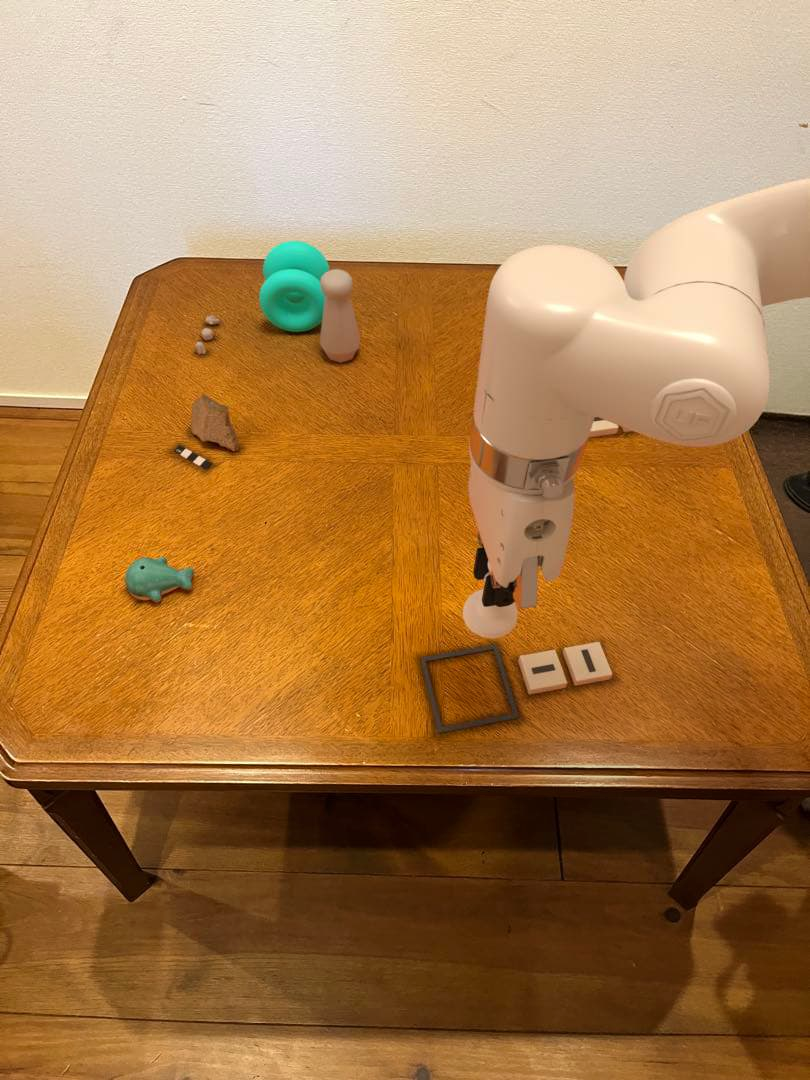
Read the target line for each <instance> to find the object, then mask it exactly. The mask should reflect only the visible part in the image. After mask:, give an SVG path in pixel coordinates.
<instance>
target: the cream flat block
mask: <svg viewBox="0 0 810 1080" xmlns="http://www.w3.org/2000/svg"><path fill="white" fill-rule="evenodd" d="M619 427H620V428H621V430H622V432H623V433H630V432H633V431H632V430H629V429H627V428H624V427H622V426H619V425H617V424H614V423H612V422H609V421H607V420H604V419H601V418H599V417H596V416H595V418H594V421H593V425H592V428H591V431H590V434H589V437H588V438H594V437H595V438H596V437H602V436H608V435H616V434H617V433H618V430H619Z"/></svg>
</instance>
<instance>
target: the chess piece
mask: <svg viewBox="0 0 810 1080" xmlns="http://www.w3.org/2000/svg"><path fill="white" fill-rule="evenodd" d="M488 569H489V572H488V573H487V574H486V575H485V577H484V579H483V582H484V584H485V580H486V576H488V575H491V572H492V569H491V566H490V563H489V560H488ZM483 590H484V588H482V589H479V590H476V591H474V592H473V593H472V594H470V595H469V596H468V597H467V599H466V601H465V603H464V605H463V608H462V617H463V621H464V623H465V625H466V627H467V628H468V629H469V630H470V631H471V632H472V633H474V634H475V635H477V636H479V637H481V638H486V639H498V638H502V637H505V636H506V635H508V634H509V633H510V632H512V630H513V629H514V628H515V627H516V624H517V621H518V608H517V604H516V602H514V603H513V604H511V605H509V606H504V607H497V606H496V605H495V606H489V607H484V606H483V603H482V596H483Z"/></svg>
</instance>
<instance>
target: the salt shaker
mask: <svg viewBox="0 0 810 1080" xmlns="http://www.w3.org/2000/svg"><path fill="white" fill-rule="evenodd" d="M321 290H322V292H323V294H324V295H325V302H324V310H323V318H322V322H321V326H320V327H321V328H320V335H319V344H320V347H321V349H322V350H323V351H324V353H325V354H326V356H327V358H328V359H329V360H330V361H333V362H337V363H341V364H342V363H345V362H348V361H351V360H353V359H354V357H355V354H356V352H357V351H358V349H359V348H360V345H361V336H360V331H359V328H358V323H357V320H356V315H355V310H354V306H353V302H352V299H351V293H353V277H352V275H350V274H349V272H348V271H346V270H343V269H337V268H335V269H330V271H327V272H326V273H324V275H323V276H322V277H321Z"/></svg>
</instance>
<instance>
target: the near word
mask: <svg viewBox="0 0 810 1080" xmlns="http://www.w3.org/2000/svg"><path fill="white" fill-rule="evenodd" d="M490 651H493V654H494V657H495V660H496V663H497V667H498V670H499V674H500V676H501V680H502V683H503V686H504V689H505V690H504V691H505V693H506V696H507V700H508V702H509V705H510V709H511V712H512V713H508V714H503V715H498V716H494V717H488V718H483V719H477V720H472V721H467V722H463V723H462V722H461V723H458V724H451V725H447V726H443V725H442V720H441V718H440V717H441V716H440V714H439V710H438V705H437V701H436V697H435V694H434V690H433V685H432V680H431V677H430V672H429V669H428V665H427V663H428V662H429V663H430V662H434V661H439V660H441V661H442V660H445V659H452V658H457V657H462V656H463V657H464V656H469V655H473V654H479V653H485V652H490ZM562 655H563V659H564V661H565V664H566V667H567V669H568V672H569V675H570V677H571V680H572V683H573V686H575V687H577V686H582V685H588V684H592V683H597V682H603V681H608V680H611V679H612V676H613V672H612V669H611V667H610V664H609V662H608V659H607V656H606V655H605V652H604V650H603V647H602V645H601V642H600V641H595V642H589V643H584V644H577V645H573V646H568V647H564V648H563V650H562ZM419 659H420V661H419V662H420V665H421V669H422V672H423V677H424V681H425V685H426V689H427V693H428V698H429V702H430V705H431V710H432V714H433V718H434V723H435V727H436V730H437V734H438V735H439V734H443V733H450V732H455V731H460V730H464V729H471V728H475V727H479V726H485V725H486V726H487V725H490V724H496V723H501V722H506V721H512V720H516V719H520V714H519V711H518V708H517V705H516V701H515V697H514V695H513V692H512V689H511V685H510V683H509V679H508V676H507V673H506V669H505V667H504V662H503V660H502V657H501V653H500V649H499V647H498V643H497V644H495V643H494V644H489V645H484V646H479V647H474V648H468V649H467V648H466V649H463V650H462V649H461V650H456V651H450V652H445V653H439V654H434V655H433V654H432V655H428V656H423V657H420V658H419ZM517 662H518V666H519V668H520V672H521V674H522V678H523V681H524V684H525V688H526V690H527V693H528V695H529V696H530V695H534V694H541V693H545V692H551V691H556V690H561V689H565V688H567V685H568V681H567V677H566V675H565V672H564V670H563V667H562V664H561V661H560V659H559V655H558V654H557V651H556V649H550V650H545V651H538V652H534V653H527V654H523V655H519V656H518V660H517Z"/></svg>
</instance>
